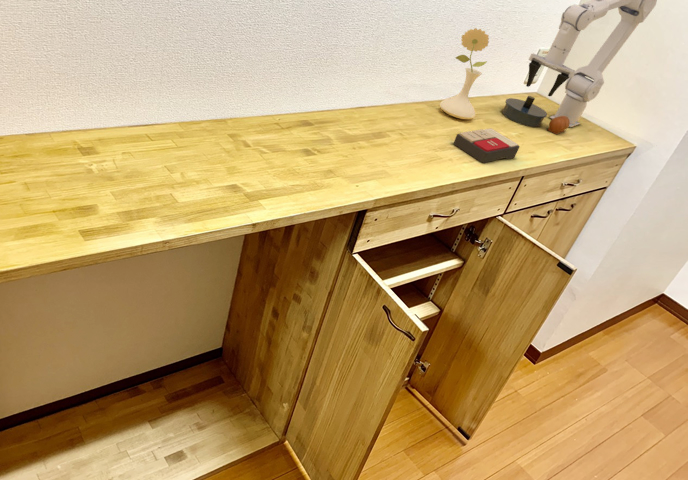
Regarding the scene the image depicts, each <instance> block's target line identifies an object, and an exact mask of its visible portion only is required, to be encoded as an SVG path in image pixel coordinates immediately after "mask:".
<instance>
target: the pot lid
mask: <svg viewBox="0 0 688 480" xmlns="http://www.w3.org/2000/svg"><path fill="white" fill-rule="evenodd" d="M535 100H536V99H535V97H534V96H531V95H528V96H526V99H525V100H522V99H519V98H515V97H514V98H513V97H511V98H506V99H505V104H507V105H508V106H509V107H511V108H512V109H514V110H516V111H518V112H520V113H523V114H525V115H528V116H532V117H537V118H544V119H545V118H547V116H548V113H547V111H545V110H544V109H543V108H542V107H540V106H538V105H536V104H534V102H535Z"/></svg>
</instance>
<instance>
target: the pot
mask: <svg viewBox="0 0 688 480" xmlns="http://www.w3.org/2000/svg"><path fill="white" fill-rule="evenodd" d="M501 112H502V115H503V116H505V117H506V118H507V119H509V120H510V121H512V122H515V123H517V124H519V125H522V126H526V127H531V128H538V127H540V126H541V125H542V123H543V121H544V119H545V118H537V117H532V116H528V115H525V114H523V113H520V112H518V111H516V110H514V109H512V108H511V107H509V106H508V105H507V104H506V103H505V104H504V107H503V109H502V110H501Z"/></svg>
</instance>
